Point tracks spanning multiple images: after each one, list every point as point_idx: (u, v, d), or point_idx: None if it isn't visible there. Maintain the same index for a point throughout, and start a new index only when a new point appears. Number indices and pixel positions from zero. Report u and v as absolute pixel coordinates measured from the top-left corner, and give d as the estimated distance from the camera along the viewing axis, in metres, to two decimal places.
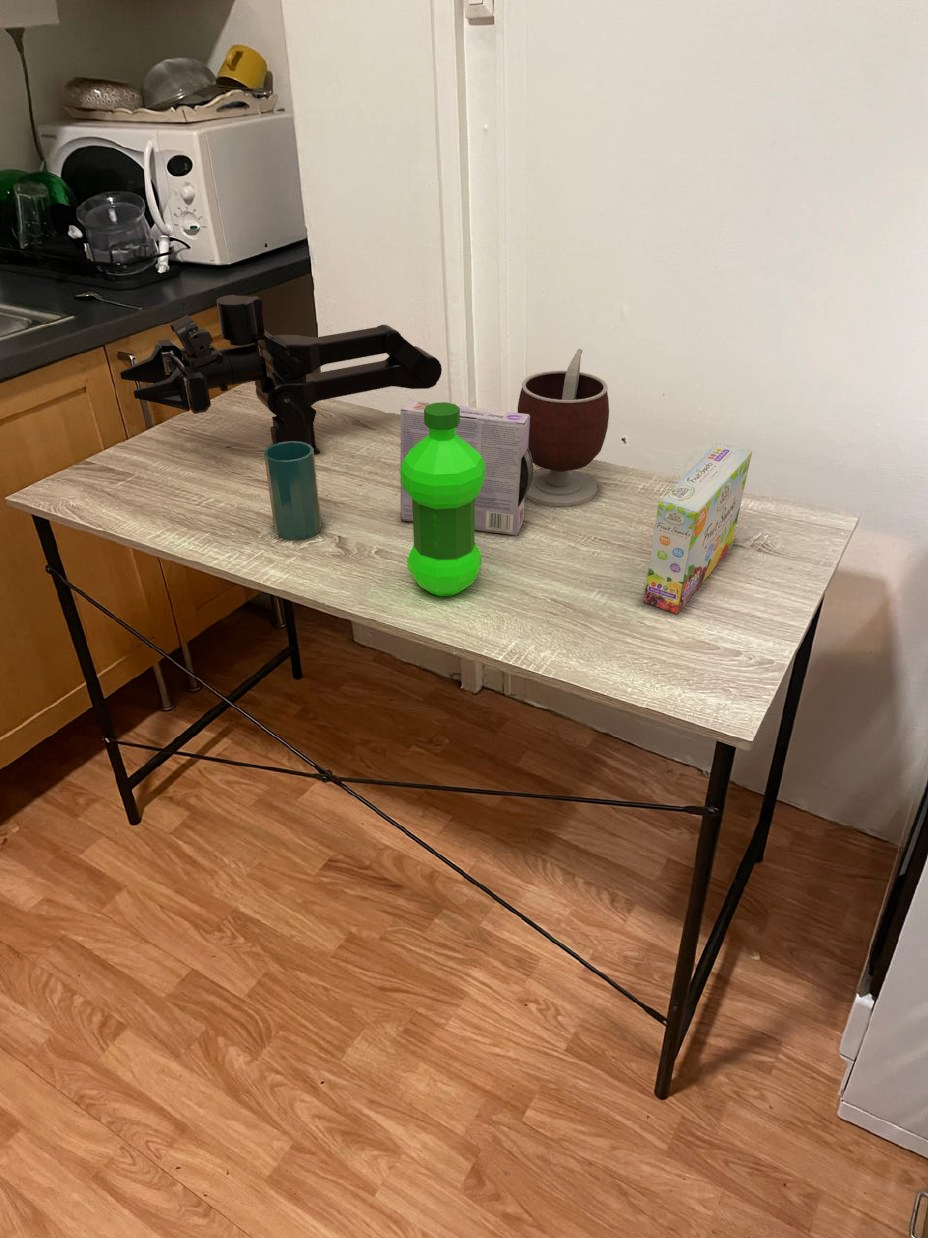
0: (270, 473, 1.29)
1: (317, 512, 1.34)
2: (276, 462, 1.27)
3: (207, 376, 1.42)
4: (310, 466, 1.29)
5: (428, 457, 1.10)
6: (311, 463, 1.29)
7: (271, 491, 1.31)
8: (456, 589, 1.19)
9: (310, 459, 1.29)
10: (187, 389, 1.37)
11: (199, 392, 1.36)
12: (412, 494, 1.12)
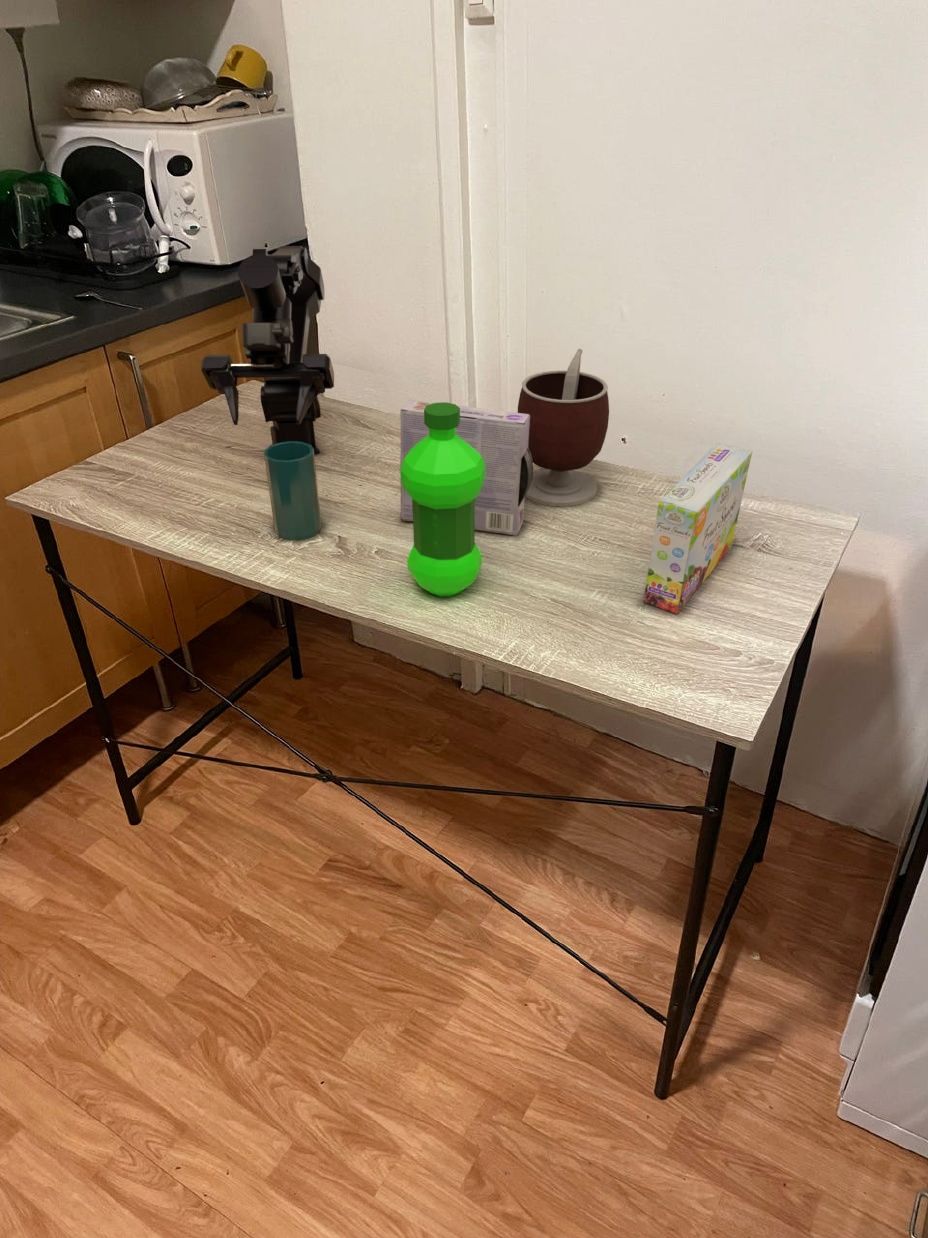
0: (270, 473, 1.29)
1: (317, 512, 1.34)
2: (276, 462, 1.27)
3: (289, 352, 1.37)
4: (310, 466, 1.29)
5: (428, 457, 1.10)
6: (311, 463, 1.29)
7: (271, 491, 1.31)
8: (456, 589, 1.19)
9: (310, 459, 1.29)
10: (321, 377, 1.36)
11: (331, 369, 1.36)
12: (412, 494, 1.12)
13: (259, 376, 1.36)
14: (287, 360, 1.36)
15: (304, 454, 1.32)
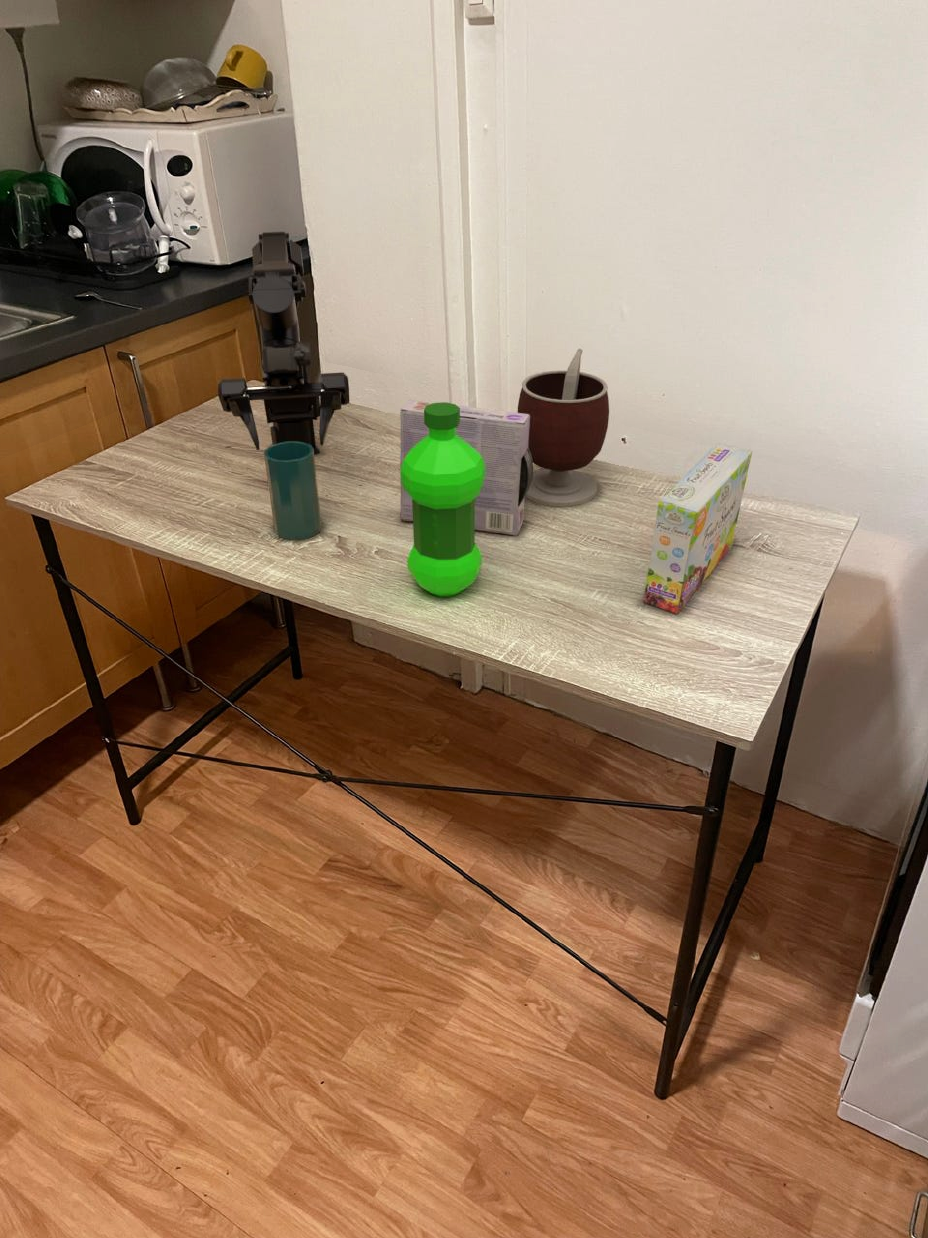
0: (270, 473, 1.29)
1: (317, 512, 1.34)
2: (276, 462, 1.27)
3: None
4: (310, 466, 1.29)
5: (428, 457, 1.10)
6: (311, 463, 1.29)
7: (271, 491, 1.31)
8: (456, 589, 1.19)
9: (310, 459, 1.29)
10: None
11: None
12: (412, 494, 1.12)
13: (275, 398, 1.35)
14: (302, 380, 1.35)
15: (304, 454, 1.32)
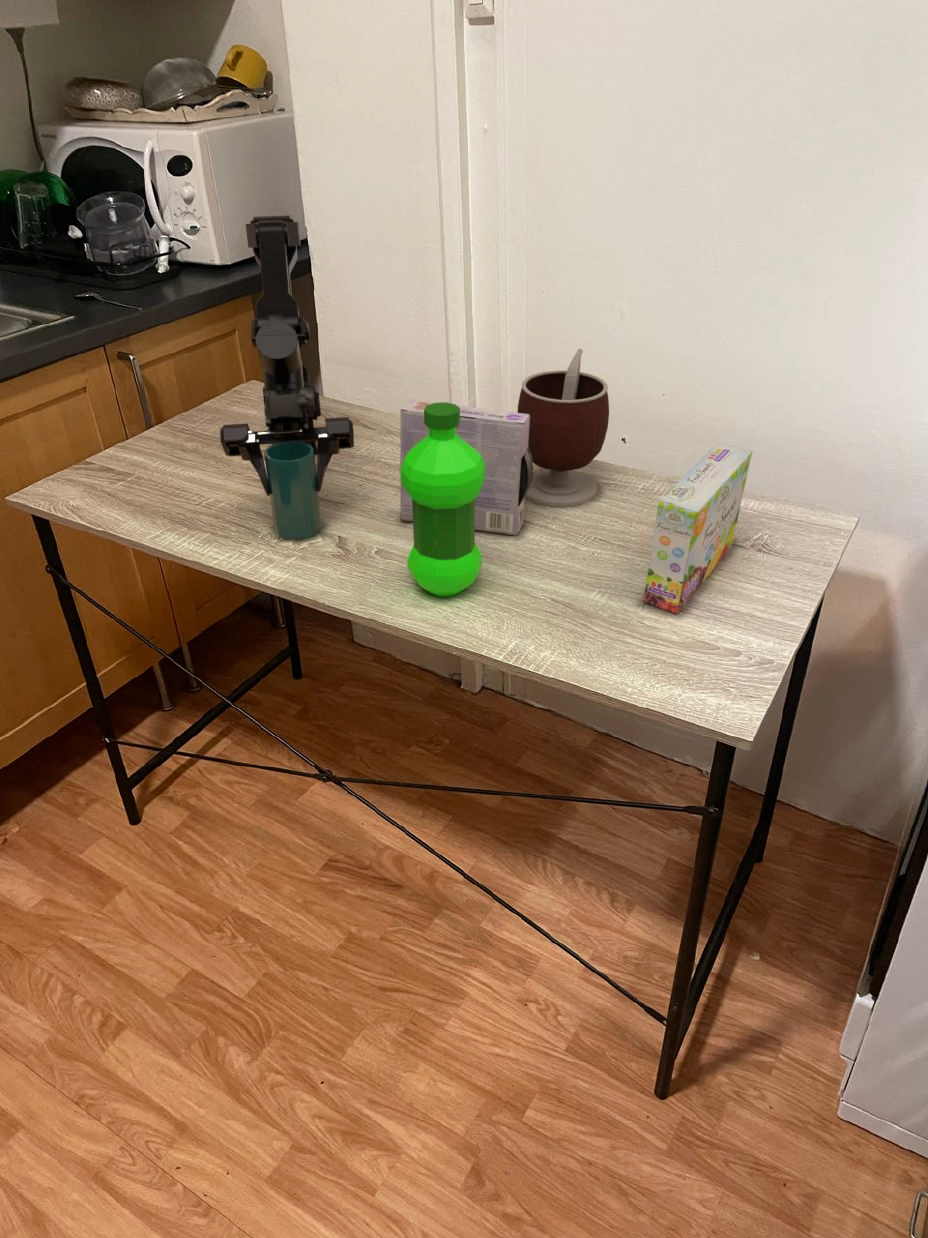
0: (270, 473, 1.29)
1: (317, 512, 1.34)
2: (276, 462, 1.27)
3: None
4: (310, 466, 1.29)
5: (428, 457, 1.10)
6: (311, 463, 1.29)
7: (271, 491, 1.31)
8: (456, 589, 1.19)
9: (310, 459, 1.29)
10: None
11: None
12: (412, 494, 1.12)
13: (279, 442, 1.33)
14: (306, 424, 1.33)
15: (304, 454, 1.32)
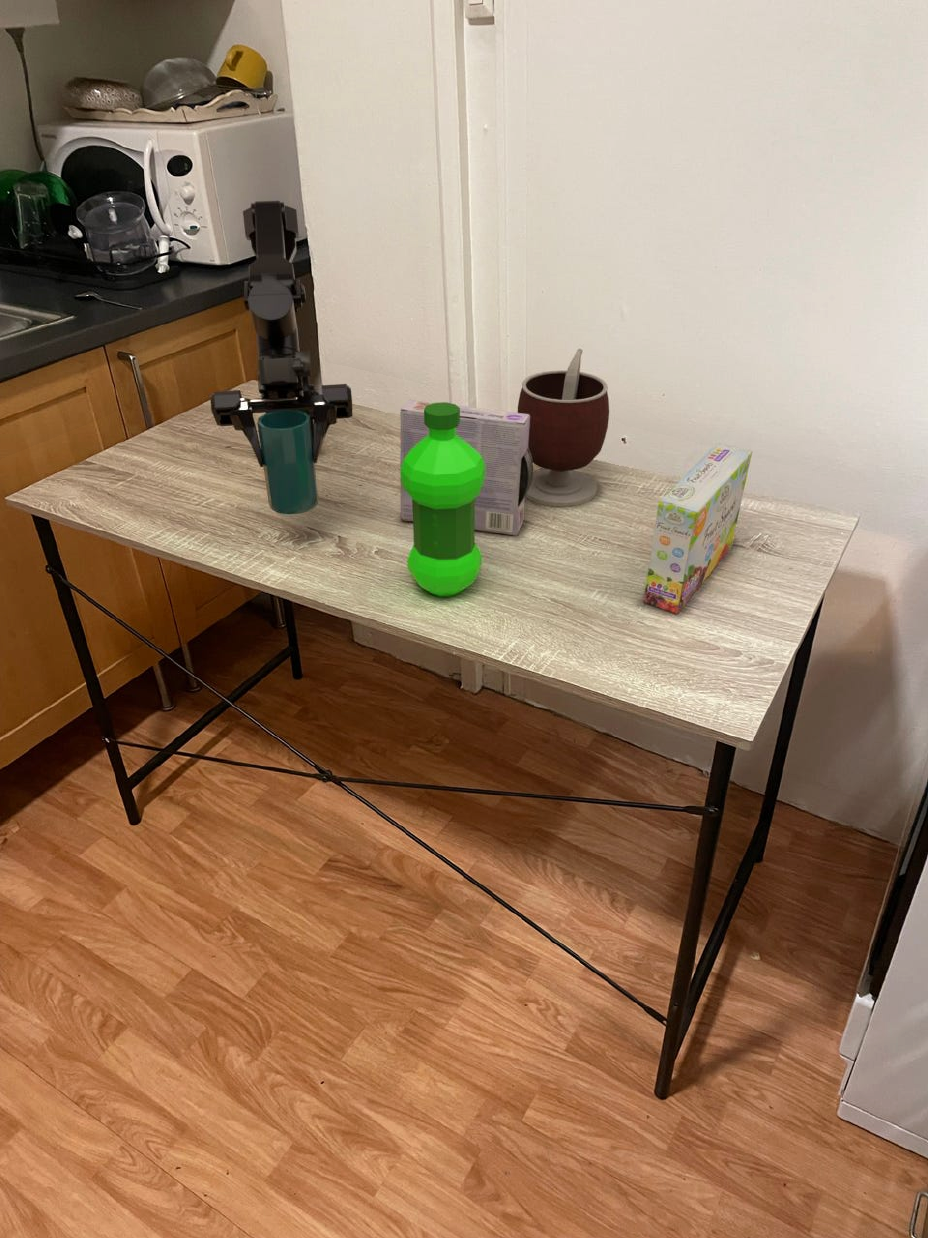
0: (264, 442, 1.21)
1: (314, 485, 1.27)
2: (270, 430, 1.20)
3: None
4: (306, 435, 1.22)
5: (428, 457, 1.10)
6: (307, 432, 1.22)
7: (265, 462, 1.23)
8: (456, 589, 1.19)
9: (306, 428, 1.21)
10: None
11: None
12: (412, 494, 1.12)
13: None
14: (302, 392, 1.26)
15: (300, 423, 1.25)
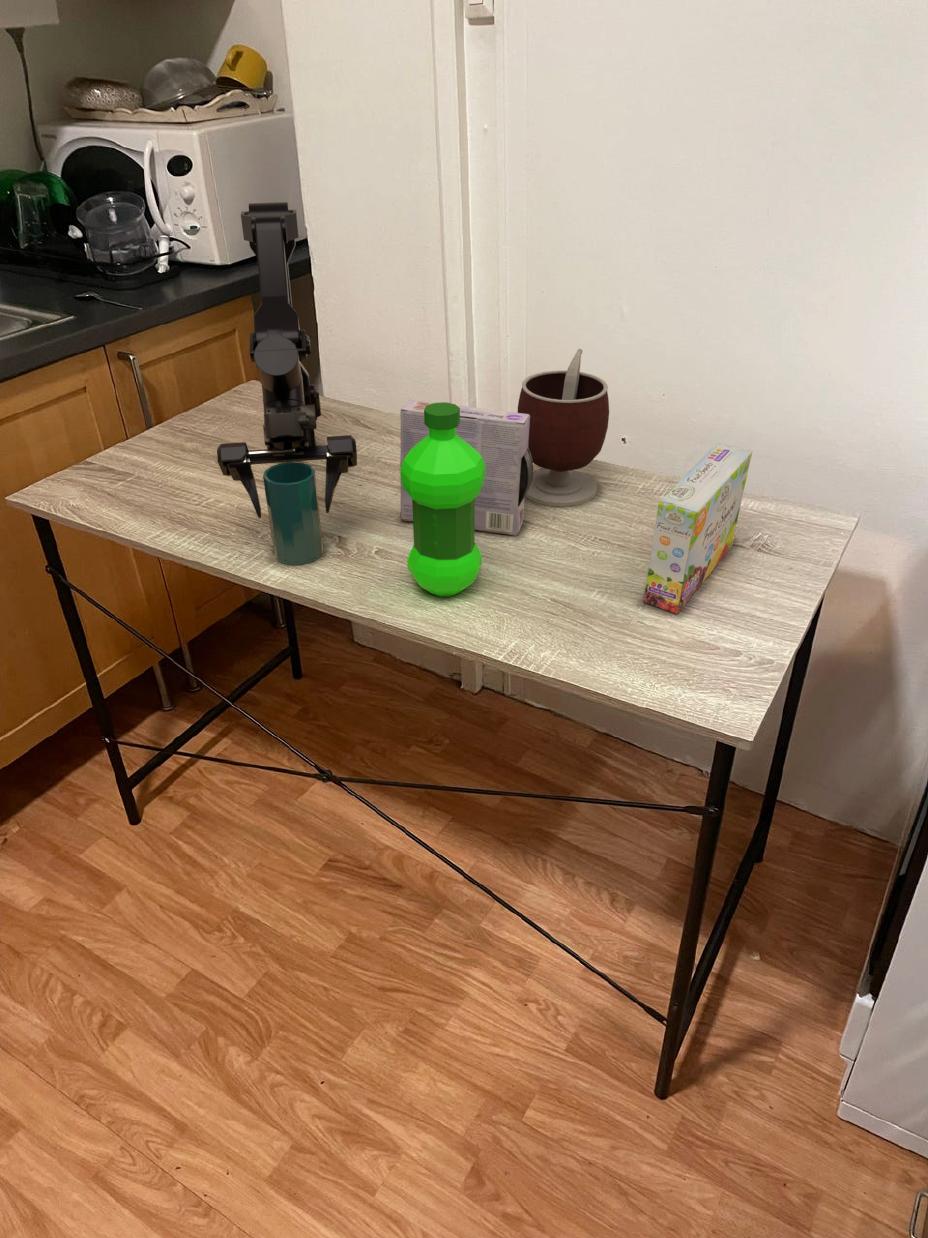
0: (269, 496, 1.23)
1: (319, 536, 1.28)
2: (275, 485, 1.21)
3: None
4: (311, 488, 1.23)
5: (428, 457, 1.10)
6: (312, 485, 1.23)
7: (270, 514, 1.25)
8: (456, 589, 1.19)
9: (311, 481, 1.23)
10: None
11: None
12: (412, 494, 1.12)
13: (278, 461, 1.27)
14: (307, 442, 1.27)
15: (305, 475, 1.27)
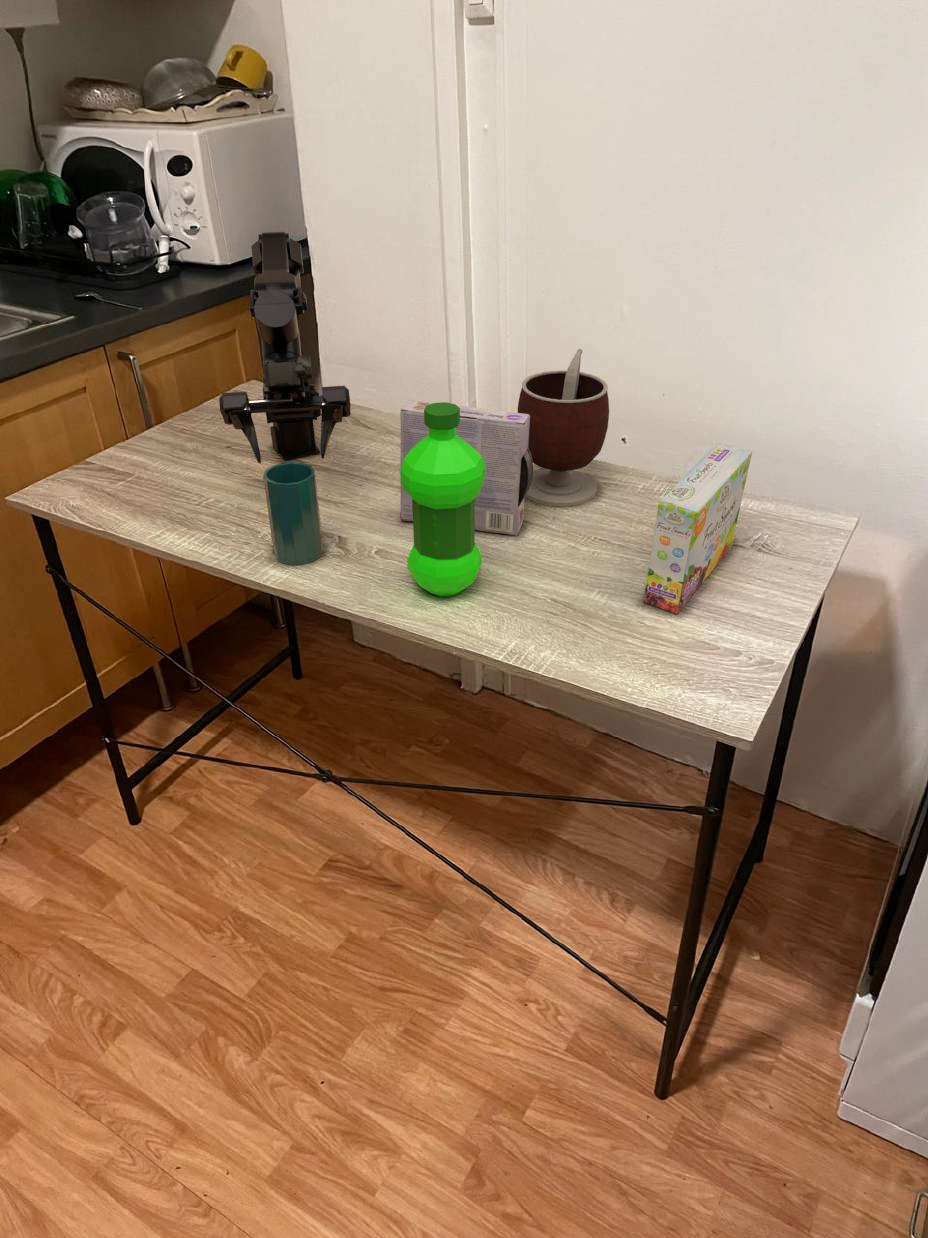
0: (269, 496, 1.23)
1: (319, 536, 1.28)
2: (275, 485, 1.21)
3: None
4: (311, 488, 1.23)
5: (428, 457, 1.10)
6: (312, 485, 1.23)
7: (270, 514, 1.25)
8: (456, 589, 1.19)
9: (311, 481, 1.23)
10: None
11: None
12: (412, 494, 1.12)
13: (277, 411, 1.36)
14: (304, 393, 1.36)
15: (305, 475, 1.27)
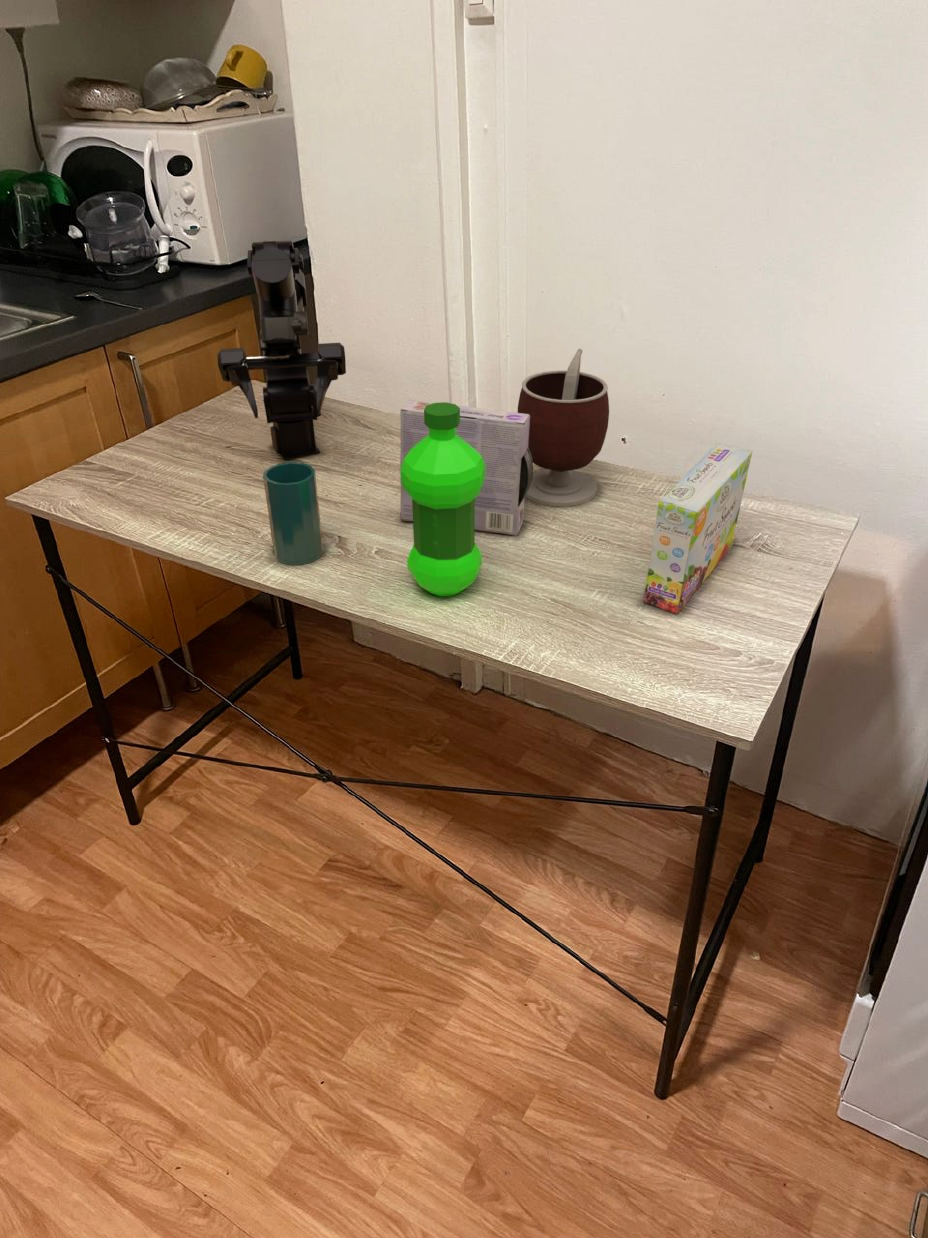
0: (269, 496, 1.23)
1: (319, 536, 1.28)
2: (275, 485, 1.21)
3: None
4: (311, 488, 1.23)
5: (428, 457, 1.10)
6: (312, 485, 1.23)
7: (270, 514, 1.25)
8: (456, 589, 1.19)
9: (311, 481, 1.23)
10: None
11: None
12: (412, 494, 1.12)
13: (273, 367, 1.39)
14: (300, 350, 1.39)
15: (305, 475, 1.27)
